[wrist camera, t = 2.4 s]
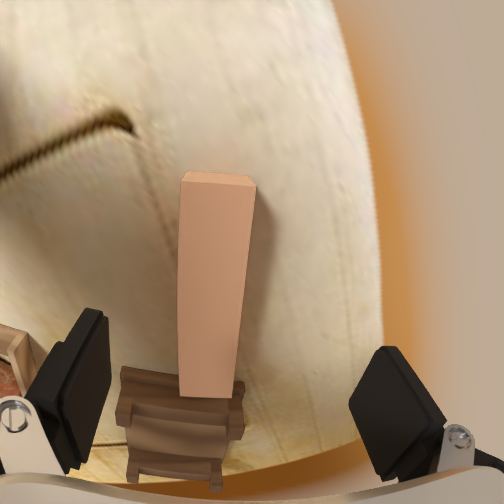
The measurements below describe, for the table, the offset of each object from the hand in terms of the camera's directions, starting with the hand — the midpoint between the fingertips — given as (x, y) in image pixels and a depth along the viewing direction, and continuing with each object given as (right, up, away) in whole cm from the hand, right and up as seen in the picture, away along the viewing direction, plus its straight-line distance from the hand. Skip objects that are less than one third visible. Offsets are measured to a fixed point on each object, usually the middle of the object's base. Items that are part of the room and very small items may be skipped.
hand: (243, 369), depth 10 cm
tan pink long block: (-3, +2, +13) cm, 14 cm away
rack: (-7, -14, +19) cm, 24 cm away
